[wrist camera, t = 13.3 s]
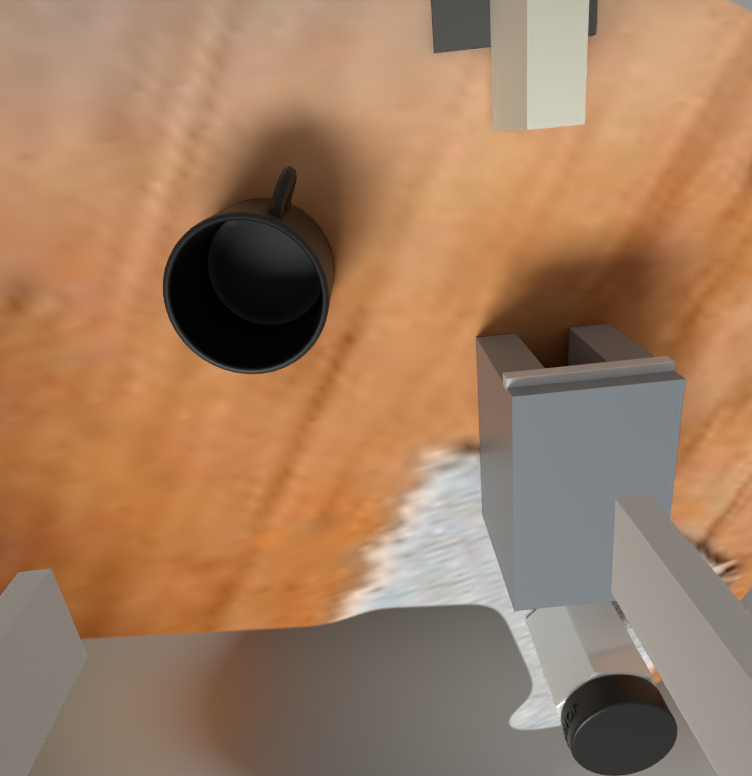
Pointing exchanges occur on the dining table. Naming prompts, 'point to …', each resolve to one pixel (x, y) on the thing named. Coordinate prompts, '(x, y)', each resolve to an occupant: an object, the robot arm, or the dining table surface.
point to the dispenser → (571, 457)
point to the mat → (472, 24)
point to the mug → (251, 283)
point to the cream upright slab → (538, 63)
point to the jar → (601, 689)
